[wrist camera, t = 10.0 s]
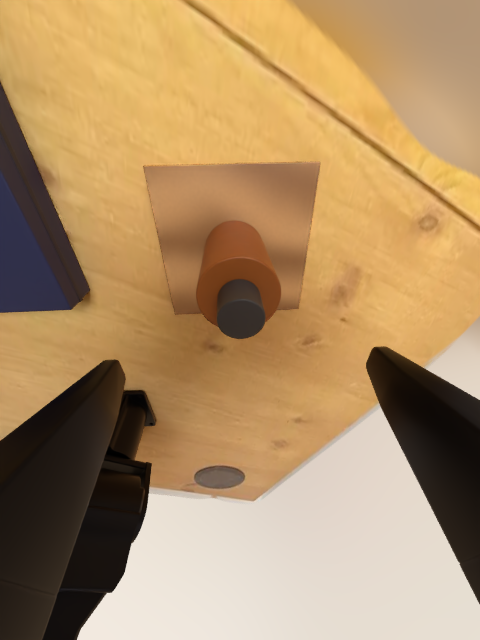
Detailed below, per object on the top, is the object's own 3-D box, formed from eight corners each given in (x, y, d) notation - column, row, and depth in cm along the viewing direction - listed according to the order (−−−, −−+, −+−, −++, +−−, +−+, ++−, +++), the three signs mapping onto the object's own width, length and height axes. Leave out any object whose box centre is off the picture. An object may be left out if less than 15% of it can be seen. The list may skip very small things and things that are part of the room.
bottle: (262, 276, 19) (285, 354, 12) (207, 278, 19) (197, 358, 12) (264, 219, 17) (296, 273, 9) (201, 220, 17) (184, 277, 9)
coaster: (297, 306, 22) (298, 309, 21) (175, 312, 21) (174, 314, 21) (318, 161, 15) (320, 161, 15) (144, 165, 15) (142, 165, 15)
